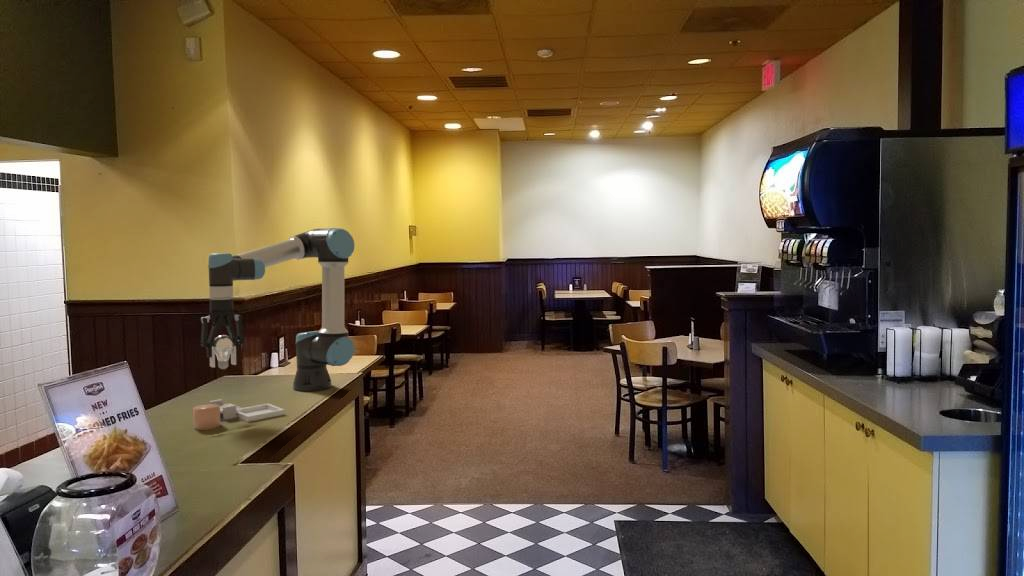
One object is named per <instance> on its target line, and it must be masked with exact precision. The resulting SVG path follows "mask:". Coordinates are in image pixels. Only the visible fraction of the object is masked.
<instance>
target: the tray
mask: <svg viewBox="0 0 1024 576" xmlns="http://www.w3.org/2000/svg"><path fill="white" fill-rule="evenodd" d="M285 415H286V409H285V408H282V407H279V406H276V405H274V404H271V403H262V404H258V405H253V406H248V407H247V406H246V407H241V411H237V417H239V418H238V419H239V420H242V421H245V422H246V423H250V422H255V421H262V420H266V419H271V418H277V417H281V416H285Z"/></svg>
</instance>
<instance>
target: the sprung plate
mask: <svg viewBox="0 0 1024 576" xmlns="http://www.w3.org/2000/svg"><path fill="white" fill-rule="evenodd" d="M222 404H223V403H222ZM231 405H235V404H234V403H224V404H223V405H220V414H223V407H226V406H231ZM241 408H242V407H241V406H238V405H236V411H241Z"/></svg>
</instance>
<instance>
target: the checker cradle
mask: <svg viewBox="0 0 1024 576" xmlns="http://www.w3.org/2000/svg"><path fill="white" fill-rule="evenodd" d="M208 404H217V405H223V399H222V398H221V399H214V400H209V402H208ZM236 406H237V405H236V404H234V405H231V406H226V407H223V414H220V422H226V421H230V420H236V419H239V417H237V411H236Z"/></svg>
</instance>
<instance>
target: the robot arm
mask: <svg viewBox="0 0 1024 576" xmlns="http://www.w3.org/2000/svg"><path fill="white" fill-rule="evenodd" d="M354 251H355V240H354V238H353V236H352V235H351V234H350V232H349V231H347V229H344V228H337V227H332V228H331V227H330V228H314V229H311V230H307V231H305V232H302V233H298V234H296V235H292V236H290V237H289V238H288V240H284V241H280V242H277V243H274V244H271V245H270V244H269V245H265V246H262V247H259V248H257V249H256V248H255V249H252V250H249V251H246V252H242V253H239V254H238V253H237V254H235V255H233V254H232V253H229V252H228V253H224V252H223V253H221V252H220V253H217V252H216V253H213V252H212V253H210V254H209V256H208V266H207V268H208V282H209V283H208V284H209V285H208V286H209V287H208V290H209V291H208V292H209V299H210V300H209V314H208V315H207V316H201V317H200V318H199V320H200V322H201V323H200V324H201V330H200V331H201V332H200V333H201V334H200V347H204V348H205V349H206V357H207V358H208V359H209V367H211V368H216V354H215V348H212V346H213V343H214V340H215V338H216V337H217V333H218V330H219V328H220V327H222V326H223V327H225V328H226V330H227V333H228V336H229V337H230V338H231V339H232V340H233V342H234V348H233V350H232V352H231V354H230V364H231V365H233V366H236V365H237V355H239V353H240V351H239V350H240V349H239V346H241V344H244V342H245V337H244V332H243V331H244V330H243V318H244V316H243V315H242V314H237V313H235V311H234V309H235V307H234V299H233V297H234V281H255V280H260V279H262V278H263V277H264V276H265V274H266V268H267V267H271V266H274V265H277V264H280V263H281V264H282V263H283V262H287V261H290V260H293V259H296V260H297V261H298V260H302V259H307V258H311V259H312V258H317V263H318V264H319V265H320V266H321V291H322V292H321V310H322V311H321V318H322V319H321V328H320V329H319V330H314V331H305V332H300V333H297V334H296V336H295V353H296V372H295V376H294V379H293V382H292V389H293V390H295V391H299V392H313V391H323V390H326V389H329V388H331V387H332V379H331V376H330V373H329V371H328V369H327V365H329V366H331V367H342V366H344V365H347V364H348V363H349V362H350V360H352V359H353V357H354V353H355V343H354V341H353V340H352V339H351V338H350V337H349V330H348V329H347V328H346V327H345V267H346V266H347V265H349V258H350V257H351V256H352V255H353V253H354ZM233 320H234V321H235V329H236V332H235V330H234V326H233V323H232V321H233ZM210 321H211V323H212V324H211V329H210V332H209V323H210ZM208 333H209V335H208Z"/></svg>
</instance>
